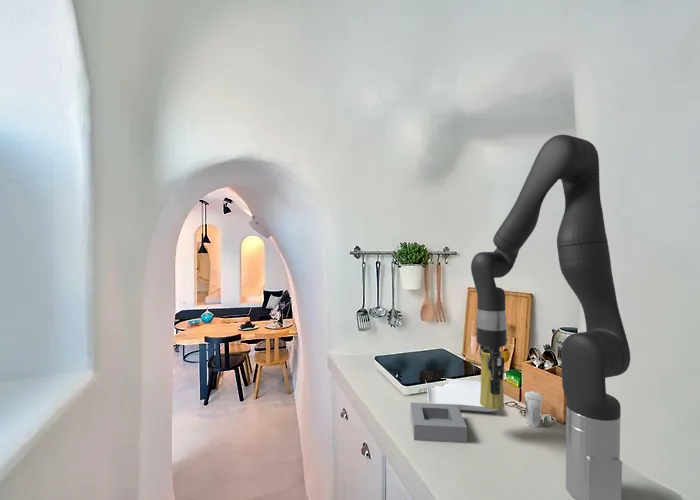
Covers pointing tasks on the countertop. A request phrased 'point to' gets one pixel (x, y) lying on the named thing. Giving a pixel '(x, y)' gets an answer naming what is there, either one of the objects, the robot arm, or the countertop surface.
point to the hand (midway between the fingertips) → (491, 389)
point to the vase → (485, 395)
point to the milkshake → (533, 408)
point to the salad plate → (458, 395)
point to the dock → (438, 422)
